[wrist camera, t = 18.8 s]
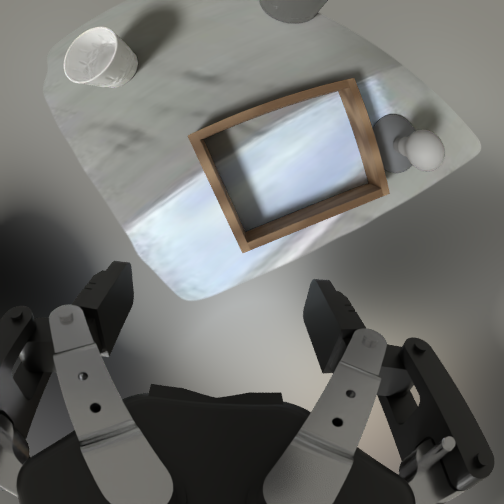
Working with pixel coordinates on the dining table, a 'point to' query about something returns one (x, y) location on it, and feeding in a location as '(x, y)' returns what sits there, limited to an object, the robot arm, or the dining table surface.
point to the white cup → (100, 59)
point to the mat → (385, 136)
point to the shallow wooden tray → (316, 211)
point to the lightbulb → (421, 149)
